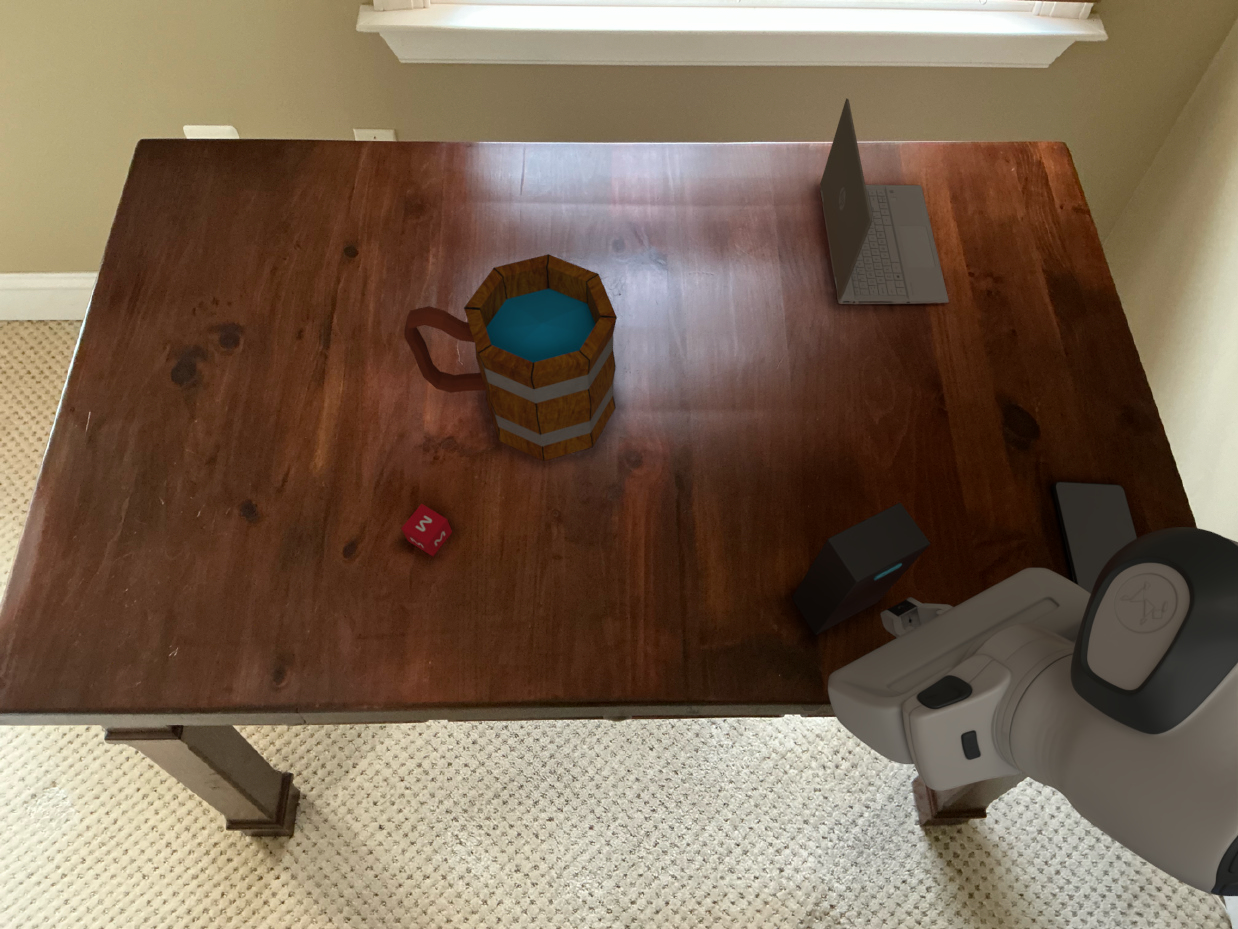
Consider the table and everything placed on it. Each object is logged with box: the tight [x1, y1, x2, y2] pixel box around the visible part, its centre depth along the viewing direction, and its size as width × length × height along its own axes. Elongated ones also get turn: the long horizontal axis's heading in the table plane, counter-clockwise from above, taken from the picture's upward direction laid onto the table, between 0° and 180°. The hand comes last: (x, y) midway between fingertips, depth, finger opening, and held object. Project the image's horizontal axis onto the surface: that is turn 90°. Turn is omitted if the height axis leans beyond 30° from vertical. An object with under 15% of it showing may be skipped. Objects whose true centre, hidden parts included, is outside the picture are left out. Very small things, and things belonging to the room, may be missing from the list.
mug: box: [403, 254, 618, 462], centre depth 79 cm, size 20×14×15 cm
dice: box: [401, 503, 453, 557], centre depth 77 cm, size 3×3×3 cm
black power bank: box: [791, 502, 931, 636], centre depth 70 cm, size 4×7×14 cm, turn 117°
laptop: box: [819, 97, 950, 305], centre depth 91 cm, size 18×12×13 cm
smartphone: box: [1052, 481, 1138, 594], centre depth 78 cm, size 7×1×15 cm
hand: (896, 612), depth 67 cm, fingers closed
